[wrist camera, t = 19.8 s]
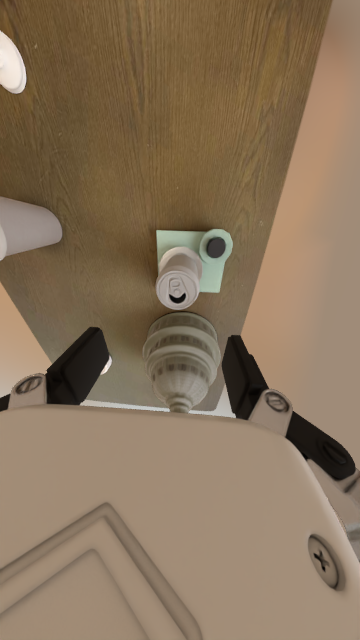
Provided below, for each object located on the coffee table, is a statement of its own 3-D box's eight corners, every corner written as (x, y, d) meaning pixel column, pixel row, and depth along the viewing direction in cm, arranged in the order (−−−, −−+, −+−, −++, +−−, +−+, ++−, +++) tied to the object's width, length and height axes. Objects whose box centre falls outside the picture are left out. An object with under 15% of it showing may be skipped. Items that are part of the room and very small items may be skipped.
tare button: (225, 238, 28) (227, 238, 27) (222, 256, 30) (223, 258, 28) (208, 237, 28) (209, 238, 27) (206, 256, 30) (206, 257, 28)
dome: (94, 403, 18) (261, 414, 18) (145, 309, 40) (222, 312, 39) (123, 462, 29) (229, 470, 28) (151, 362, 50) (212, 366, 50)
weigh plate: (205, 247, 29) (205, 247, 28) (200, 292, 33) (200, 292, 33) (158, 245, 29) (157, 245, 29) (159, 290, 34) (159, 290, 33)
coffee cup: (13, 224, 31) (-110, 222, 18) (30, 182, 27) (-110, 142, 15) (58, 260, 34) (-20, 280, 22) (78, 227, 31) (-2, 227, 18)
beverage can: (168, 287, 33) (158, 314, 23) (163, 255, 30) (148, 270, 19) (197, 284, 32) (201, 310, 22) (195, 251, 29) (199, 265, 19)
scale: (231, 229, 29) (235, 229, 27) (220, 290, 36) (222, 295, 33) (157, 226, 30) (154, 226, 27) (160, 287, 36) (157, 292, 34)
